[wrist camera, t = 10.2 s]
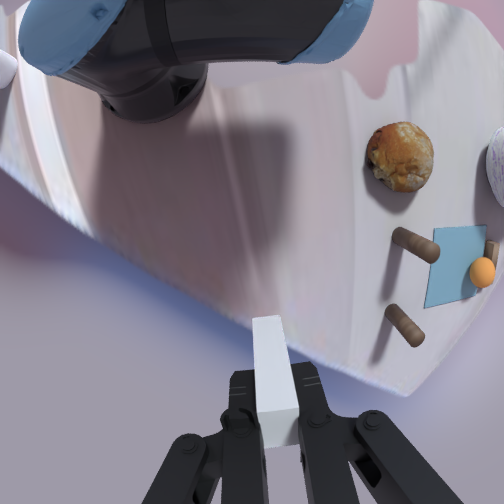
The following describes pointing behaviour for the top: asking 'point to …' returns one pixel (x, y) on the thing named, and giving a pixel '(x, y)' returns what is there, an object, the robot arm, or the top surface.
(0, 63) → the foam cup
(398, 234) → the post
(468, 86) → the top surface
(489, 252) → the wall
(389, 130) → the bread roll
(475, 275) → the ball
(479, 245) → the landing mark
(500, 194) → the grey stone bowl
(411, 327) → the post
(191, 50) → the robot arm
